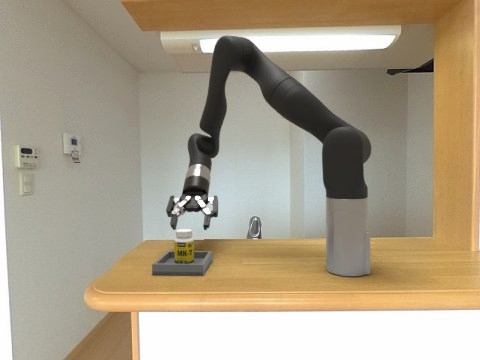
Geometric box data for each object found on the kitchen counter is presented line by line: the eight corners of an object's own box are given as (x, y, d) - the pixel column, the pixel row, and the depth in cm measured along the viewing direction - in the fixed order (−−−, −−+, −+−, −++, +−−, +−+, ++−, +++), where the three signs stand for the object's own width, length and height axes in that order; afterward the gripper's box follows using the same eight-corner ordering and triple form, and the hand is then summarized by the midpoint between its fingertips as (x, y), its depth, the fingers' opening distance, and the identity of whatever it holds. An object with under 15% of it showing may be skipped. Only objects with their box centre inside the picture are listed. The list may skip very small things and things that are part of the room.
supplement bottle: (175, 267, 80) (174, 232, 80) (173, 262, 85) (173, 229, 85) (195, 265, 82) (194, 231, 81) (192, 260, 86) (192, 227, 86)
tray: (212, 260, 89) (212, 251, 89) (203, 275, 77) (203, 264, 77) (167, 260, 90) (167, 250, 90) (152, 275, 78) (151, 264, 78)
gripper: (171, 174, 99) (159, 220, 88) (219, 174, 98) (214, 220, 87) (176, 191, 104) (166, 235, 93) (222, 190, 103) (217, 236, 92)
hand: (189, 228), depth 90 cm, fingers open, 8 cm apart
